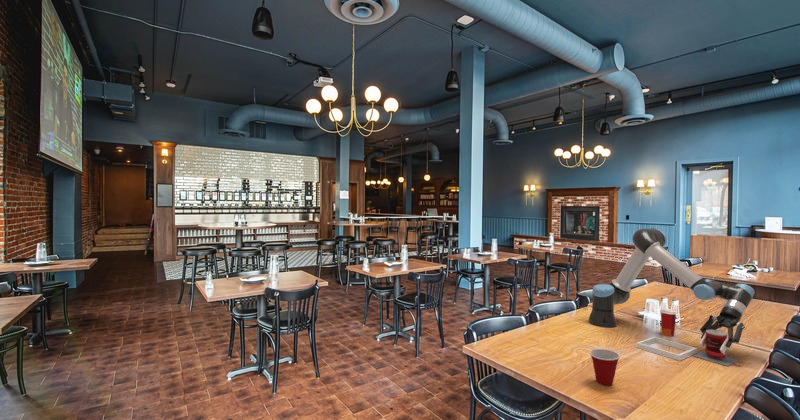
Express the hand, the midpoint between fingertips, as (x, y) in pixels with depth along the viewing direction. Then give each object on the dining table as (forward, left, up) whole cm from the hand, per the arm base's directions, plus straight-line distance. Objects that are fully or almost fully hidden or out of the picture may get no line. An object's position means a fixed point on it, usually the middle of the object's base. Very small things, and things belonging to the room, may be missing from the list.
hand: (711, 348), depth 177 cm
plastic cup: (-12, -69, -6) cm, 70 cm away
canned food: (+1, +3, -4) cm, 5 cm away
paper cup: (-27, +22, -6) cm, 36 cm away
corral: (-16, -6, -5) cm, 18 cm away
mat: (+1, +3, -5) cm, 6 cm away
